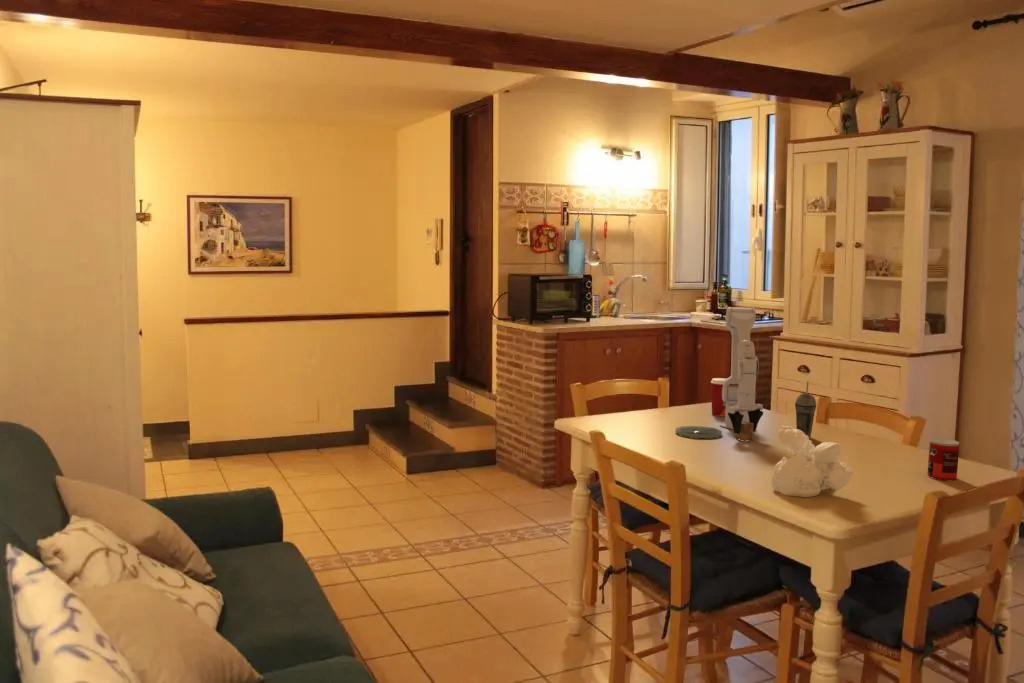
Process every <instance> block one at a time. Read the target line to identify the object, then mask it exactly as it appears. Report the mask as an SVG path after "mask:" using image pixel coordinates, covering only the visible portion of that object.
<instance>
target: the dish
mask: <svg viewBox="0 0 1024 683" xmlns="http://www.w3.org/2000/svg"><path fill="white" fill-rule="evenodd" d="M675 432H676V433H677V434H678V435H677V434H676V433H675V434H676V435H677V436H679V435H681V436H680V437H682V436H686V437H685V438H687V437H692V438H691V439H694V438H715V439H718V438H717V437H719V438H721V437H722V435H723V431H722V430H721V429H718V428H716V427H710V426H703V425H683V426H682V425H681V426H679V427H676V428H675ZM720 436H721V437H720Z"/></svg>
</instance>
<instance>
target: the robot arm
mask: <svg viewBox="0 0 1024 683" xmlns="http://www.w3.org/2000/svg"><path fill="white" fill-rule="evenodd" d="M756 311H757V310H756V309H755V307H737V306H736V307H732V306H728V307H727V308H726V310H725V312H726V313H725V329H726V330H728V331H729V332H730V335H731V348H730V349H731V351H730V352H731V353H730V354H731V356H730V358H731V359H730V363H731V365H730V376H729V377H727V378H725V379H726V380H725V381H724V382H723V388H722V399H723V401H724V402H726V413H725V416H724V424H723V423H722V424H719V426H720V427H723V428H726V429H730V430H733V433H734V434H735V435H736V434H740V430H741V422H742V421H746V422H750V423H754V426H753V433H755V432H756V431H757V428H758V424H759V422H760V420H761V418H762V417H763V415H764V411H763V408H764V407H763V406H764V404H761V403H756V384H757V376H758V374H759V369H760V367H759V365H760V363H759V359H758V356H757V355H756V351H755V344H754V342H753V341H751V331H752V329H753V327H754V326H755V325H754V324H755V323H756V317H757V316H756V315H757V314H756V313H757V312H756ZM729 384H730V385H729Z"/></svg>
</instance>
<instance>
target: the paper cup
mask: <svg viewBox="0 0 1024 683" xmlns="http://www.w3.org/2000/svg"><path fill="white" fill-rule="evenodd" d="M726 379H727V378H722V377H714V378H713V377H712V379H711V381H710V384H711V415H712V414H714V415H713V416H715V415H725V413H726V402H724V401H723V399H722V388H723V382H724V381H725V380H726ZM729 385H731V384H729Z"/></svg>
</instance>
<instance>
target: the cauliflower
mask: <svg viewBox="0 0 1024 683" xmlns="http://www.w3.org/2000/svg"><path fill="white" fill-rule="evenodd" d="M777 434H778V439H779V442H780V443H781V445H782V447H783V448H784V450H786V451H789V452H790V453H791V455H792V456H791V457H789V458H787V457H786V456H783V457H782V458H781V460H780V461H778V462H776V463H775V466H774V469H773V471H772V473H773V474H772V477H771V486H772V490H773V491H774V492H777V493H780V495H784V496H787V497H788V496H789V497H800V498H812V497H815V496H816V497H817V496H818V495H819V494H820V493H821V491H825V490H829V489H832V490H834V491H840V490H841V489H843V488H844V487H846V486H847V485H848V484H849V483H850V479H852V476H853V473H854V471H853V469H852V468H851V467H850V466H849V465H848V464H846V463H844V462H841V461H840V460H838V459H839V458H838V457H839V456H840V454H841V452H842V444H840V443H839V442H838V443H837V442H831V441H825V442H822V443H819V444H818V445H815V444H813V441H812V440H810V438H809V437H808V436H806V435H805V434H804V432H803V431H801V430H799V429H797V428H794V427H793V426H791V425H788V424H786V425H782V426H780V428H779V430H778V433H777Z"/></svg>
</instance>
